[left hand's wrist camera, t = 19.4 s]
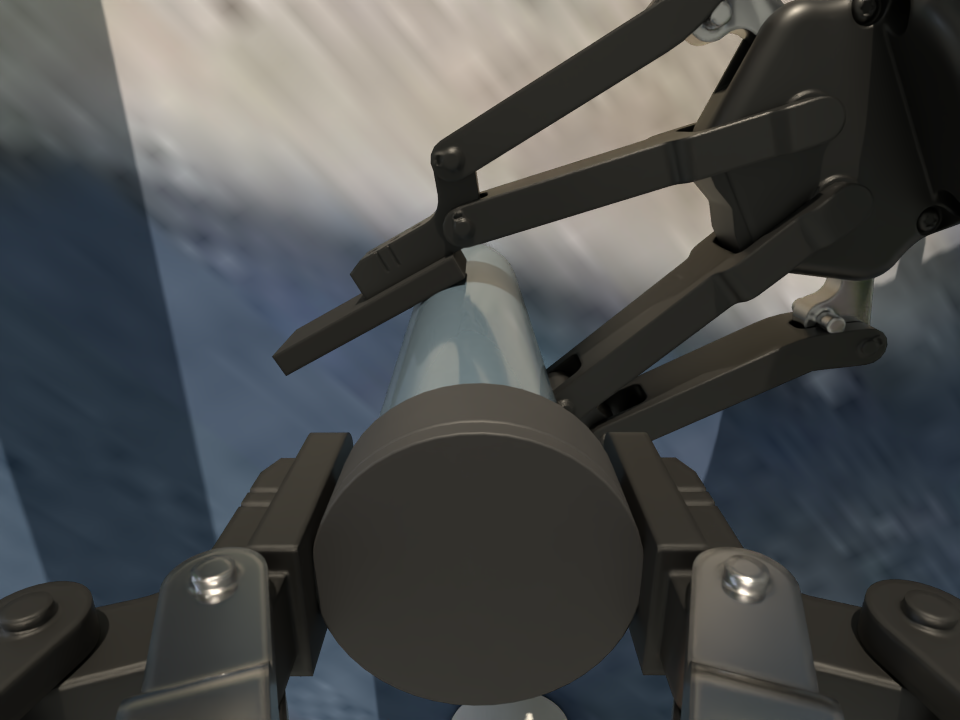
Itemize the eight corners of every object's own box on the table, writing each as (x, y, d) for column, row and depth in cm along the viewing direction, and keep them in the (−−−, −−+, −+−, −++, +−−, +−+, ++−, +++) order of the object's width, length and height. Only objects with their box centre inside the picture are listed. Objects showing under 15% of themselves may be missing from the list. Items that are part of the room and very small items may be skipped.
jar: (457, 353, 27) (439, 686, 11) (402, 278, 26) (289, 524, 10) (536, 303, 27) (643, 580, 10) (483, 223, 26) (509, 389, 9)
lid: (634, 385, 10) (667, 437, 8) (604, 626, 12) (625, 710, 10) (330, 376, 10) (299, 427, 8) (343, 619, 12) (320, 703, 10)
